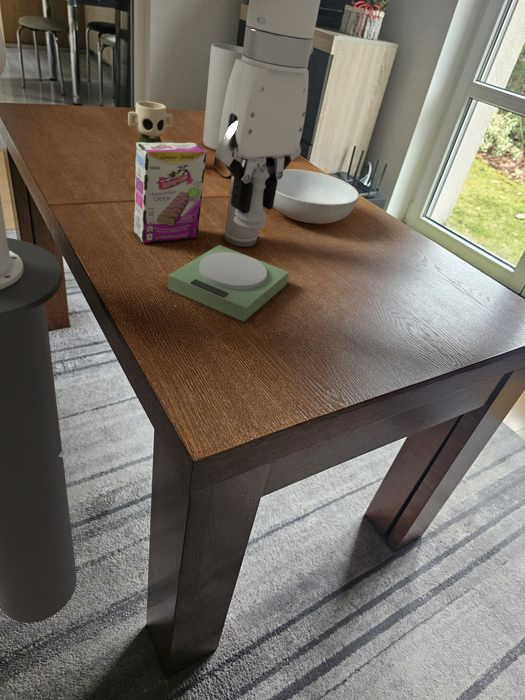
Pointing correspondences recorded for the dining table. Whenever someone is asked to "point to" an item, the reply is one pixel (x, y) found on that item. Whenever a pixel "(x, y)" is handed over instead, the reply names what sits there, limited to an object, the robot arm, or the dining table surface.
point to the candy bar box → (168, 190)
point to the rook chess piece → (254, 202)
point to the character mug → (150, 120)
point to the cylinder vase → (218, 89)
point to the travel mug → (232, 231)
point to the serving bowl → (314, 197)
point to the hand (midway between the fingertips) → (251, 206)
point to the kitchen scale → (228, 282)
